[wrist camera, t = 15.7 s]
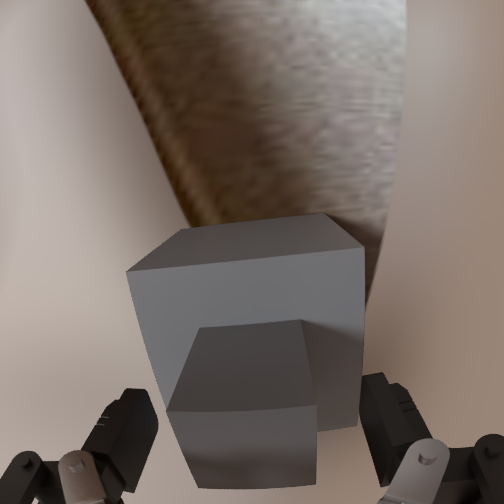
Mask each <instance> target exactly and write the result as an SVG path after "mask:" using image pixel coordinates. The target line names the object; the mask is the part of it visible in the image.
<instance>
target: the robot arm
mask: <svg viewBox="0 0 504 504" xmlns="http://www.w3.org/2000/svg"><path fill="white" fill-rule="evenodd" d="M359 414H360V420H361V424H362V427H363V430H364V433H365V437H366V440H367V443H368V446H369V450H370V453H371V456H372V459H373V463H374V466H375V470H376V473H377V476H378V480H379V483H380V487H385V486H389V487H388V489H387V491H386V493H385V494H384V496H383V498H382V499H380V500H379V501H378V503H377V504H504V436H502V435H498V434H488V435H485V436H483V437H481V438H480V439H479V440H478V441H477V442H476V444H475V446H474V447H465V448H448V447H447V446H446V445H445V444H444V443H443V442H441V441H439V440H436V439H433V438H432V436H431V434H430V432H429V430H428V428H427V426H426V424H425V422H424V420H423V418H422V417H421V415H420V413H419V411H418V409H417V408H416V405H415V404H414V402H413V401H412V398H411V396H410V395H409V392H408V390H407V389H405V388H404V387H402V386H401V385H400V384H398V383H394V384H389V383H388V381H387V379H386V377H385V375H384V373H383V372H380V373H375V374H370V375H364V376H362V380H361V392H360V402H359ZM157 431H158V418H157V415H156V413H155V410H154V408H153V405H152V402H151V400H150V397H149V395H148V392H147V391H146V390H145V389H133V388H127V389H126V390H124V392H123V394H122V395H121V397H120V399H119V400H114V401H113V402H112V403H111V404H109V405H108V406H107V407H106V409H105V410H104V412H103V413H102V415H101V418H99V420H98V421H97V425H95V426H94V428H93V430H92V432H91V433H90V435H89V436H88V438H87V440H86V441H85V443H84V445H83V447H82V448H81V450H75V451H71V452H69V453H67V454H65V455H64V456H63V457H62V458H61V459H60V461H42V459H41V458H40V457H39V455H38V454H37V453H35V452H33V451H25V452H21V453H19V454H18V455H16V456H15V457H14V458H13V460H12V462H11V463H10V465H9V466H8V468H7V469H6V471H5V472H4V474H3V476H2V477H1V479H0V504H32V502H33V500H34V498H36V499H37V500H38V501H39V502H38V504H124V502H123V500H122V498H121V495H122V492H123V491H126V492H130V493H134V492H135V489H136V487H137V484H138V481H139V479H140V476H141V474H142V471H143V468H144V466H145V463H146V460H147V458H148V455H149V453H150V450H151V447H152V445H153V442H154V440H155V437H156V434H157Z"/></svg>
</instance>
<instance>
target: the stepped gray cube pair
mask: <svg viewBox="0 0 504 504" xmlns="http://www.w3.org/2000/svg"><path fill="white" fill-rule="evenodd" d="M126 275H127V279H128V283H129V287H130V291H131V295H132V300H133V303H134V307H135V311H136V315H137V319H138V322H139V326H140V329H141V333H142V336H143V340H144V343H145V346H146V350H147V353H148V356H149V359H150V362H151V365H152V369H153V372H154V375H155V378H156V381H157V384H158V387H159V390H160V392H161V395H162V398H163V401H164V404H165V407H166V413H167V416H168V418H169V421H170V423H171V426H172V428H173V431H174V433H175V436H176V438H177V440H178V443H179V446H180V448H181V450H182V453H183V455H184V457H185V460H186V462H187V464H188V466H189V469H190V471H191V473H192V475H193V477H194V480H195V482H196V484H197V486H198V488H207V489H267V488H284V487H296V486H306V485H315V484H316V462H317V457H316V456H317V432H320V431H327V430H334V429H341V428H347V427H353V426H357V422H358V413H359V402H360V392H361V380H362V366H363V348H364V347H363V346H364V323H365V251H364V246H362V245H361V244H360V243H359V242H358V241H357V240H355V239H354V238H353V237H352V236H351V235H350V234H348V233H347V232H346V231H345V230H344V229H342V228H341V227H340V226H339V225H338V224H336V223H335V222H334V221H333V220H332V219H330V218H329V217H328V216H327V215H326V214H324V213H322V214H312V215H302V216H292V217H283V218H273V219H264V220H255V221H246V222H237V223H228V224H220V225H212V226H203V227H195V228H187V229H181V230H179V231H178V232H177V233H175V234H174V235H173V236H171V237H170V238H169V239H168V240H166V241H165V242H164V243H162V244H161V245H160V246H159V247H157V248H156V249H154V250H153V251H152V252H151V253H149V254H148V255H147V256H145V257H144V258H143V259H141V260H140V261H139V262H138V263H137V264H135V265H134V266H133V267H131V268H130V269H129V270H128V271H126Z"/></svg>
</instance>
